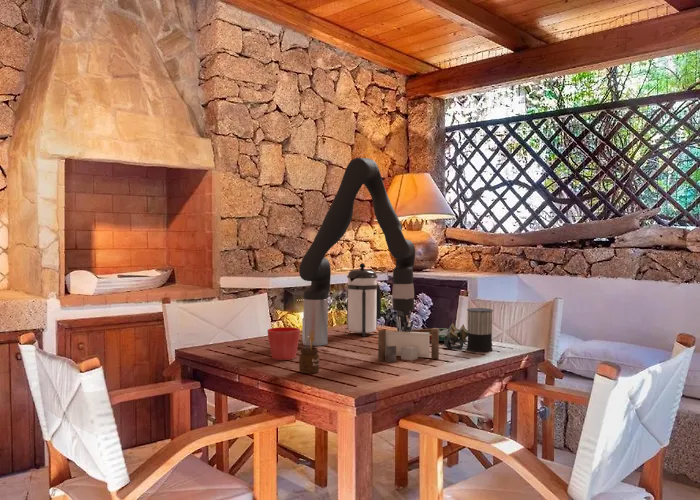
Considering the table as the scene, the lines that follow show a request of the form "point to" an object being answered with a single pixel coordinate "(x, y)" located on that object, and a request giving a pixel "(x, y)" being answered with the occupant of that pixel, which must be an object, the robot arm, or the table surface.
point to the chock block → (409, 353)
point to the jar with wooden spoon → (309, 358)
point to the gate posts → (390, 351)
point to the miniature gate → (447, 332)
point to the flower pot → (283, 342)
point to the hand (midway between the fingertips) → (404, 346)
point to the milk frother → (476, 331)
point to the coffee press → (363, 301)
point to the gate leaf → (409, 341)
